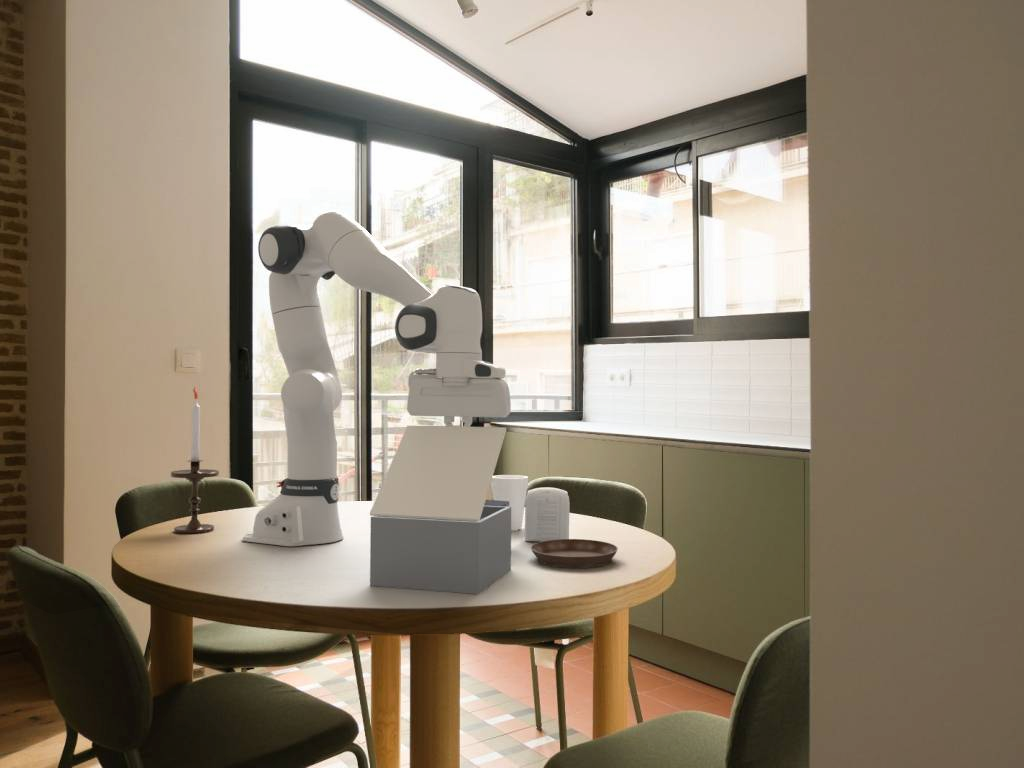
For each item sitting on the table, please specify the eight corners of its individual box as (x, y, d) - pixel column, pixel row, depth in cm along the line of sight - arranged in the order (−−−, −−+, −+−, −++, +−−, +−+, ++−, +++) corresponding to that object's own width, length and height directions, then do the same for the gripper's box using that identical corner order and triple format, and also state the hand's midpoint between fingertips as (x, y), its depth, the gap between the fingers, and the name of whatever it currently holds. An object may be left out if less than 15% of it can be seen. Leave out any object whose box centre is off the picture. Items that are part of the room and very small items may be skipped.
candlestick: (161, 531, 192) (163, 386, 192) (204, 525, 200) (205, 387, 201) (183, 536, 185) (185, 386, 185) (226, 530, 193) (228, 387, 194)
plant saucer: (554, 574, 150) (554, 558, 150) (516, 556, 166) (516, 541, 166) (634, 567, 157) (634, 551, 157) (590, 550, 173) (590, 536, 173)
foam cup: (527, 531, 194) (528, 479, 195) (490, 531, 194) (490, 478, 195) (527, 525, 204) (527, 475, 204) (491, 525, 204) (491, 474, 204)
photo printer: (569, 540, 184) (569, 486, 184) (569, 543, 180) (569, 488, 180) (525, 539, 185) (525, 486, 185) (524, 542, 180) (524, 488, 181)
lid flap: (370, 515, 139) (369, 513, 138) (408, 427, 154) (407, 425, 154) (479, 521, 133) (478, 519, 133) (506, 429, 149) (505, 427, 149)
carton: (370, 585, 138) (370, 517, 139) (414, 562, 158) (414, 502, 158) (478, 594, 133) (479, 522, 133) (510, 569, 152) (511, 506, 152)
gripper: (402, 368, 152) (401, 439, 152) (504, 368, 147) (503, 443, 147) (414, 369, 158) (414, 438, 158) (513, 369, 153) (512, 440, 153)
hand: (458, 440), depth 153 cm, fingers closed, pressing on lid flap
